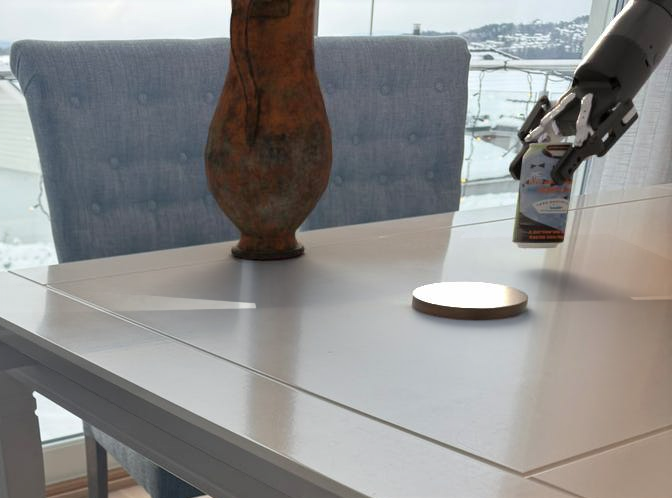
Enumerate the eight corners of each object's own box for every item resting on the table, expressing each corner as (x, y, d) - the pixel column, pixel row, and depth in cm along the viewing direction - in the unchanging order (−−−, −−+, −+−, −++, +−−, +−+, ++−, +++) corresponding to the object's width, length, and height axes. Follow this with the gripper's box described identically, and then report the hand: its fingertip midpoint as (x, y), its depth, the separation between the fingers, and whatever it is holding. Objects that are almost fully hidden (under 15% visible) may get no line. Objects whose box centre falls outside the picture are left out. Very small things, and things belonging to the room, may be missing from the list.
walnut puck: (505, 310, 98) (509, 280, 96) (537, 339, 89) (543, 306, 87) (400, 313, 98) (403, 283, 96) (422, 341, 89) (425, 309, 87)
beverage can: (520, 256, 113) (537, 145, 106) (501, 244, 119) (516, 138, 112) (571, 254, 113) (591, 143, 106) (549, 242, 119) (567, 136, 113)
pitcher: (342, 244, 131) (358, -17, 115) (299, 275, 114) (311, -24, 98) (231, 238, 136) (231, -11, 120) (175, 267, 120) (166, -17, 103)
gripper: (564, 33, 113) (477, 151, 114) (667, 29, 102) (569, 159, 104) (587, 82, 117) (503, 194, 119) (687, 83, 107) (593, 206, 108)
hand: (534, 177), depth 111 cm, fingers closed on beverage can, 6 cm apart
